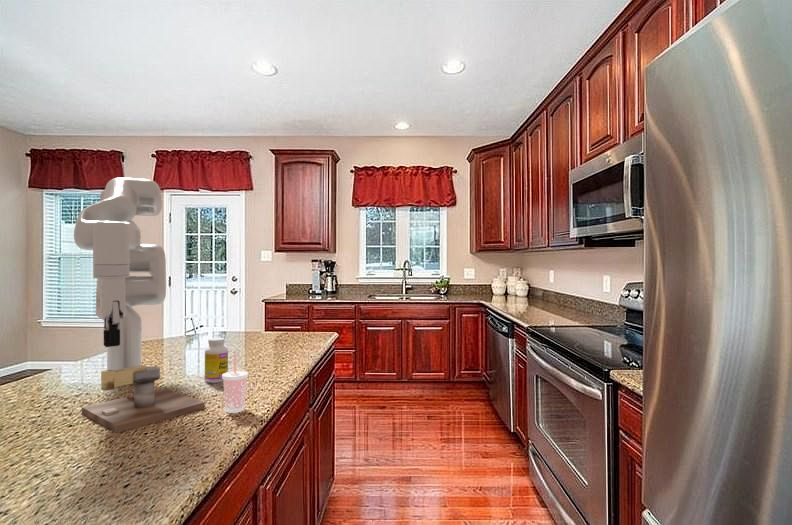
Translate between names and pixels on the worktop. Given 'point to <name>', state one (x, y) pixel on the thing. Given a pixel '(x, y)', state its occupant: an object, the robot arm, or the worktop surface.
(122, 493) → the worktop surface
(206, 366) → the supplement bottle
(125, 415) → the post base
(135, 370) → the brass lever handle
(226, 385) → the beverage cup
